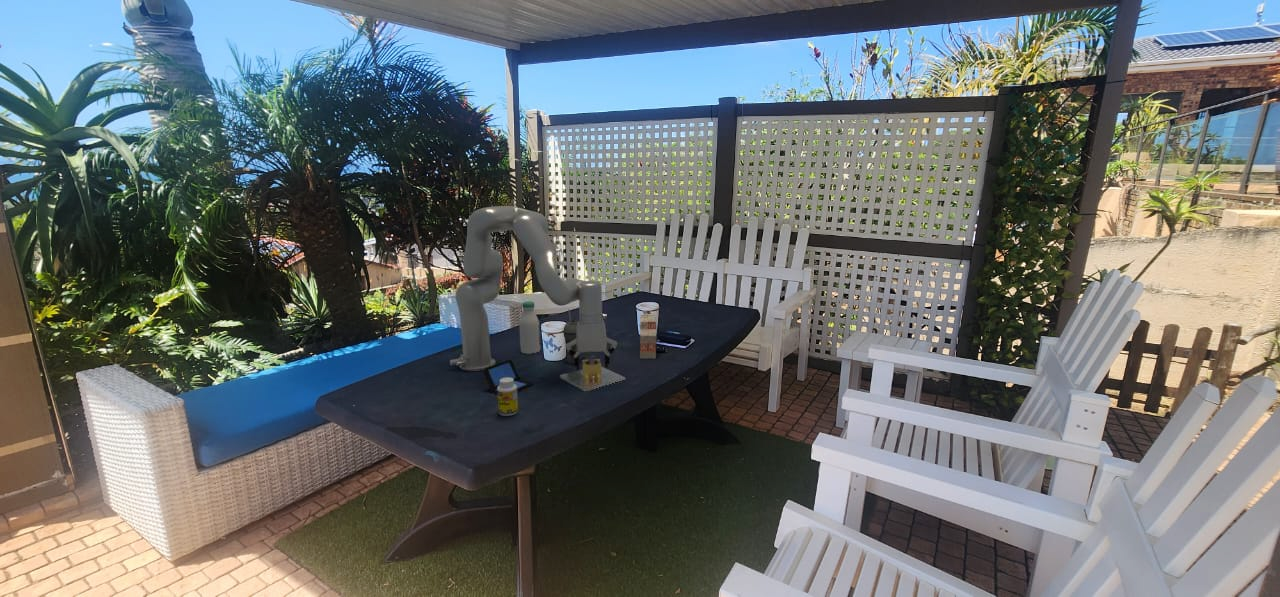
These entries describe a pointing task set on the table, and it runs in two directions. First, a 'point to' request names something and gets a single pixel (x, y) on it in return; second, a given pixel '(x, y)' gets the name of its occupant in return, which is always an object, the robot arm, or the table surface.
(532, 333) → the milk bottle
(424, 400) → the table surface
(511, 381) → the supplement bottle
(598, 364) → the yellow hollow square block
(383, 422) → the table surface
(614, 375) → the post base
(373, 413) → the table surface
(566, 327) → the beverage cup
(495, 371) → the handheld game console
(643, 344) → the stack of blocks
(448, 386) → the table surface
